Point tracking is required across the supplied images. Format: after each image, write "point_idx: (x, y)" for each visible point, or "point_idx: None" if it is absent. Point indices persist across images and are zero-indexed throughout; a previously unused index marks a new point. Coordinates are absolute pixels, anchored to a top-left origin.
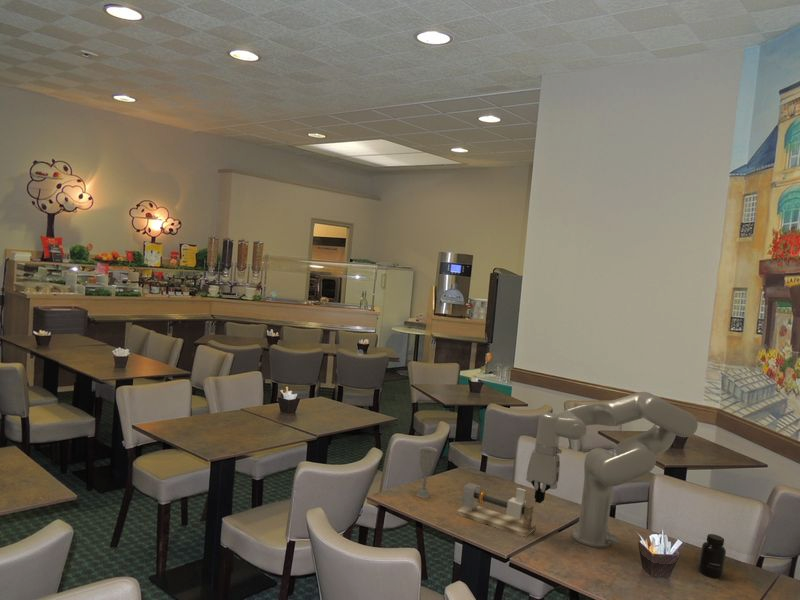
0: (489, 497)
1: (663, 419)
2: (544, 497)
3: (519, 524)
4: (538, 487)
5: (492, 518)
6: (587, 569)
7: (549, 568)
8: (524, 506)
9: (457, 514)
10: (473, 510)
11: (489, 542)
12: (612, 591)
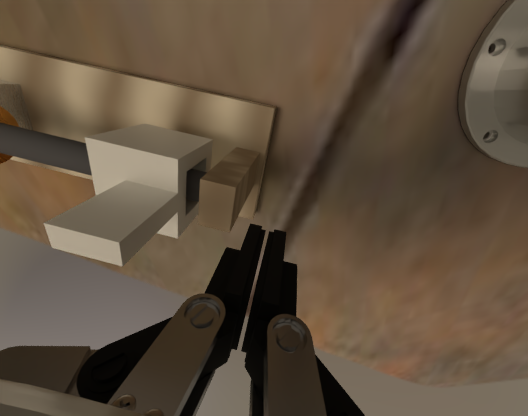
0: (3, 150)
1: None
2: (296, 277)
3: (214, 153)
4: (211, 365)
5: None
6: (442, 318)
7: (337, 339)
8: (188, 166)
9: None
10: (30, 123)
11: (184, 281)
12: (479, 379)
